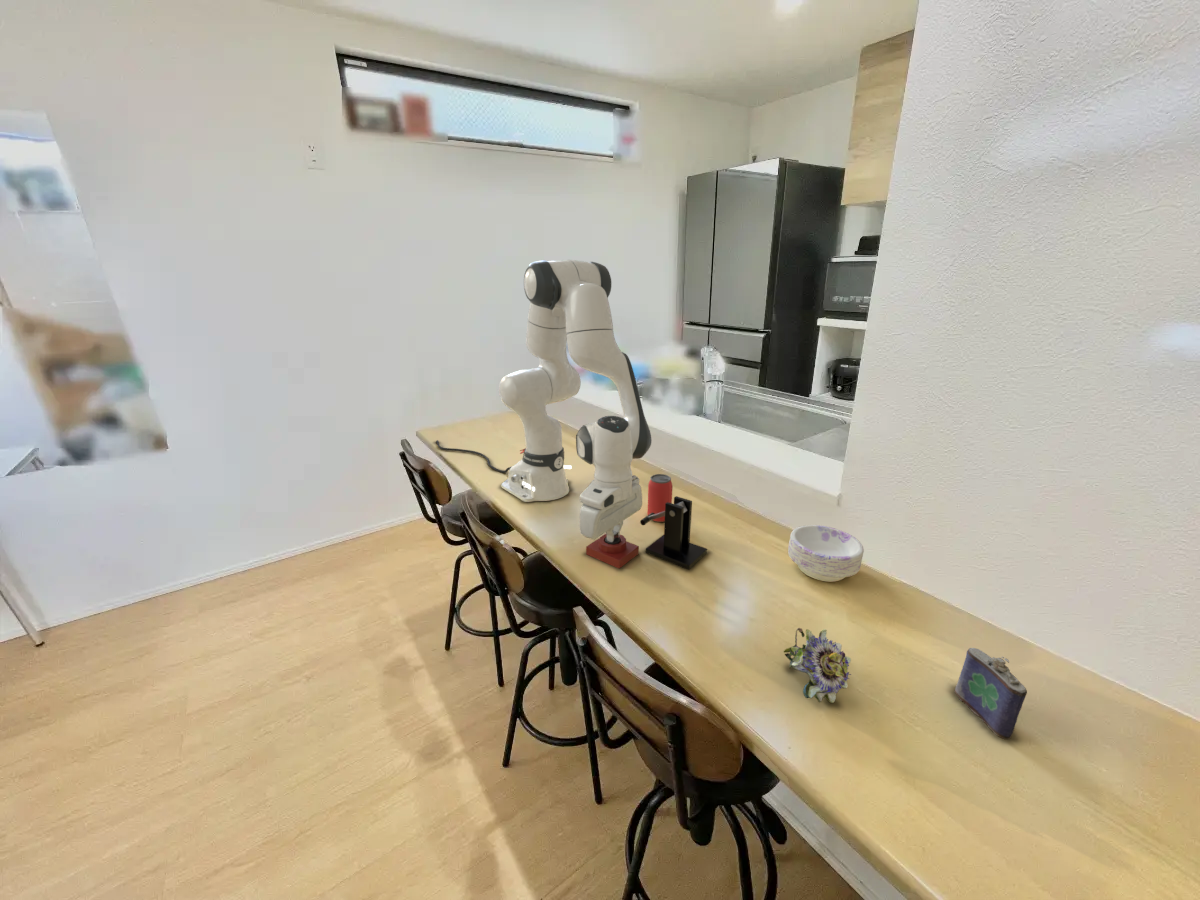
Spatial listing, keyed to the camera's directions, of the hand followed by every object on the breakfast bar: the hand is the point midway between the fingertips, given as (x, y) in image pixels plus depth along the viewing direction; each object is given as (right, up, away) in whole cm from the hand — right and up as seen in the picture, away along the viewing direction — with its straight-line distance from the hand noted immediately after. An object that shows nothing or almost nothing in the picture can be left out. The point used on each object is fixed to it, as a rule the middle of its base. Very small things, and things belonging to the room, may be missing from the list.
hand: (613, 539), depth 119 cm
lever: (+13, +5, +1) cm, 14 cm away
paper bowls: (+48, -6, -5) cm, 48 cm away
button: (0, -2, +1) cm, 2 cm away
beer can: (+13, +3, +19) cm, 23 cm away
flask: (+56, -20, -42) cm, 73 cm away
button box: (0, -4, +2) cm, 4 cm away
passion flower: (+32, -18, -36) cm, 51 cm away
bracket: (+15, -4, +2) cm, 16 cm away
